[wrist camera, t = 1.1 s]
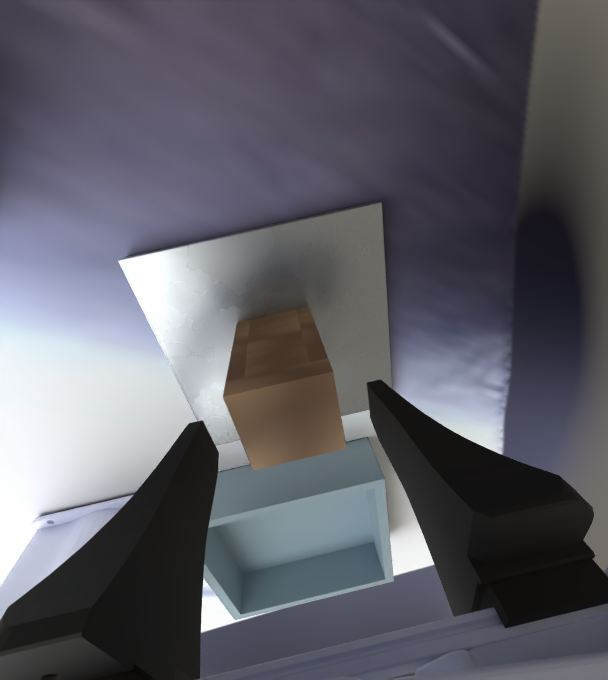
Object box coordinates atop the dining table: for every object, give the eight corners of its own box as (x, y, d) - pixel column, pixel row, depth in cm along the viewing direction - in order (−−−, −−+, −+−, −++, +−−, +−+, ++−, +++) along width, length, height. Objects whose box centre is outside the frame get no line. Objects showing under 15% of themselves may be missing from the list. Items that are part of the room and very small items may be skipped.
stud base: (212, 436, 23) (199, 501, 18) (126, 256, 16) (69, 285, 11) (388, 395, 23) (419, 449, 18) (375, 201, 16) (419, 208, 12)
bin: (238, 572, 32) (235, 620, 29) (181, 480, 25) (168, 530, 21) (379, 538, 32) (393, 581, 29) (367, 437, 25) (384, 478, 21)
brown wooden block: (256, 381, 20) (253, 470, 13) (236, 322, 18) (222, 396, 11) (320, 366, 20) (346, 448, 14) (308, 306, 18) (333, 371, 11)
